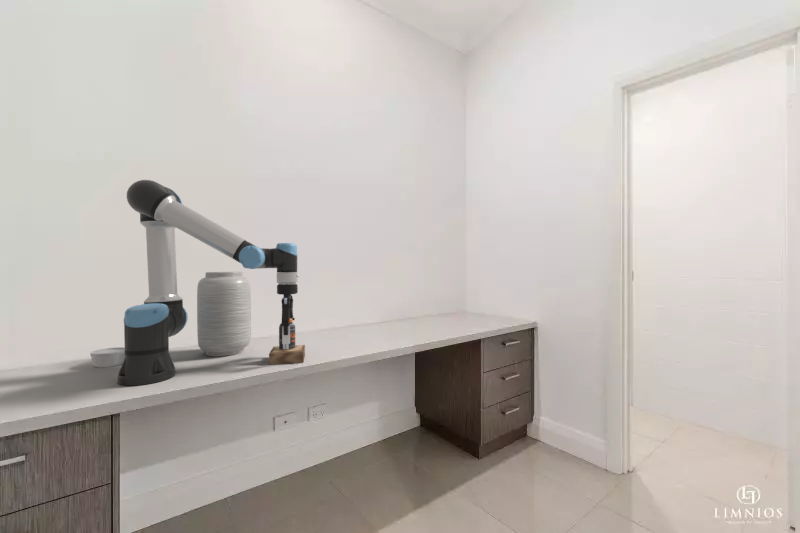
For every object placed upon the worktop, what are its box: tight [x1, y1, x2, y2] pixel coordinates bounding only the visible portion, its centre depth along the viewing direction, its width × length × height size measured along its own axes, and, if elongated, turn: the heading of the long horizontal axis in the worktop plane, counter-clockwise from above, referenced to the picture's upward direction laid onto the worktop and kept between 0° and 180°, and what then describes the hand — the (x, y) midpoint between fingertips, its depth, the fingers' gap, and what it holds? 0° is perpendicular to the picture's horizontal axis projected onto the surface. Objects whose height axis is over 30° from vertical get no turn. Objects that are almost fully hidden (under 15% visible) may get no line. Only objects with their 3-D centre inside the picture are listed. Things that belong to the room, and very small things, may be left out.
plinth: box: [268, 344, 306, 365], centre depth 140 cm, size 12×12×4 cm
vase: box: [196, 271, 252, 357], centre depth 153 cm, size 20×20×34 cm
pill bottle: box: [278, 318, 296, 350], centre depth 140 cm, size 6×6×11 cm
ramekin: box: [89, 346, 125, 369], centre depth 135 cm, size 11×11×5 cm
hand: (287, 340), depth 140 cm, fingers open, 12 cm apart
